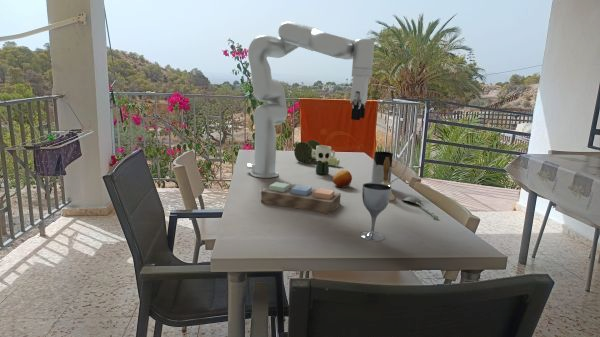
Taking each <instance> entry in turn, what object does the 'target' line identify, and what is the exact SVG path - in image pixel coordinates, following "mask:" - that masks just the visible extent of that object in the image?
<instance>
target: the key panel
mask: <svg viewBox="0 0 600 337" xmlns="http://www.w3.org/2000/svg"><path fill="white" fill-rule="evenodd" d="M295 186H296V185H295ZM295 186H293V185H290V189H289V190H288V191H286V192H279V191H272V190H269V188H270V186H268V187H267V188H265V189H263V190H261V191H260V192H261V196H260V202H261V203H265V204H269V203H270V204H271V205H275V206H281V207H282V206H283V207H287V208H293V209H299V210H306V211H313V212H317V213H325V214H330V215H331V214H332V213H333V212H334V211H335V210H336V209H337V207H339V206H340V205H341V195H342V194H341V193H340V192H335V191H334V197H333V198H332V199H331V200H330V199H323V198H317V197H314V192H315V191H316V190H317V189H313V188H312V191H311V193H310V194H309V195H308V196H304V195H298V194H291V189H292V188H293V187H295Z"/></svg>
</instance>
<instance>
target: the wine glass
mask: <svg viewBox="0 0 600 337" xmlns="http://www.w3.org/2000/svg"><path fill="white" fill-rule="evenodd" d="M361 191H362V193H361V196H362V203H363V205H364V207H365V208H366V210H367V211H368V213H369V215H370V217H371V229H370V230H369V231H368V230H367V231H365V230H364V231H362V232H360V233H359V237H360V238H362V239H364V240H366V241H370V242H381V241H384V240H385V238H386V237H385V235H383V234H381V233H379V232H377V231H375V226H376V225H375V224H376V221H377V218H378V217H379V215H380V214H381V213H382V212H383V211H384V210H385V209H386V208H387V207H388V205H389V203H390V201H389V200H390V195H391V191H392V185H391V186H389V185H386V184H382V183H371V182H365V183H363V184H362V190H361Z"/></svg>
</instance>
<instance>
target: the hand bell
mask: <svg viewBox="0 0 600 337" xmlns="http://www.w3.org/2000/svg"><path fill="white" fill-rule="evenodd" d="M383 170H384V179H383V182H382V184H386V185H389V186H391V187H392V183H391V184H389V183H388V173H389V170H390V160H389V157H386V158H385V161H384V164H383ZM392 191H393V190H391V195H390V200H389V202H390V201H394V200H395V199H396V198H395V196H394V194H393V192H392Z"/></svg>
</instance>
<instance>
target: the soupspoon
mask: <svg viewBox="0 0 600 337" xmlns="http://www.w3.org/2000/svg"><path fill="white" fill-rule="evenodd" d="M402 201H406V202H409V203H413V204H416V205H418V206H420V207H421V208H423V210H426V211H427V212H428V213H429V214H430V215H431V216H432V219H433V218H435V219H434V220H438V219H439V216H438V215H436V214H435V213H434V212H432V211H431V210H430V209H429V208H427V207H425V205H423V204H421V202H422V200H421V199H420V198H418V197H416V196H408V197H405V198H403V199H402ZM402 201H401V202H402Z"/></svg>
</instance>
